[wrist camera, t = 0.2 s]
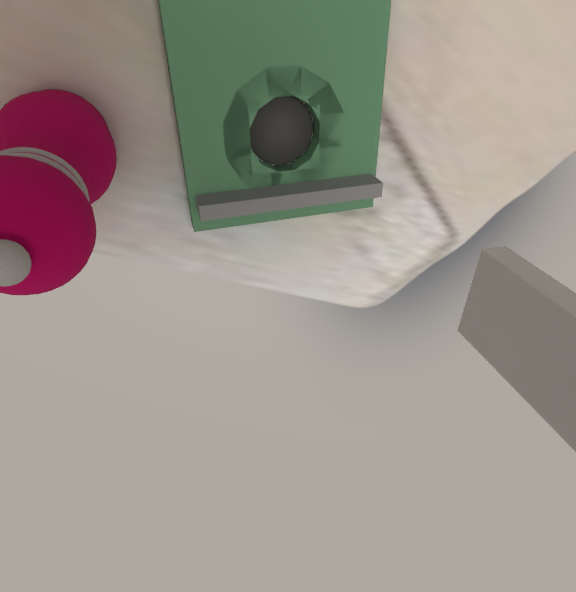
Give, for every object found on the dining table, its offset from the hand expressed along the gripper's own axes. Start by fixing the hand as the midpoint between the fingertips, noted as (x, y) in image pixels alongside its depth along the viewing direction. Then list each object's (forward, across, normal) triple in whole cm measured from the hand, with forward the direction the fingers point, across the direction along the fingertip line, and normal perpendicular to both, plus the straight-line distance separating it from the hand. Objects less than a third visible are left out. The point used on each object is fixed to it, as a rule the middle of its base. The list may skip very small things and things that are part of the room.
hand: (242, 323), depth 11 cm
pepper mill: (+28, -8, -2) cm, 29 cm away
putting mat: (+28, +8, +5) cm, 29 cm away
